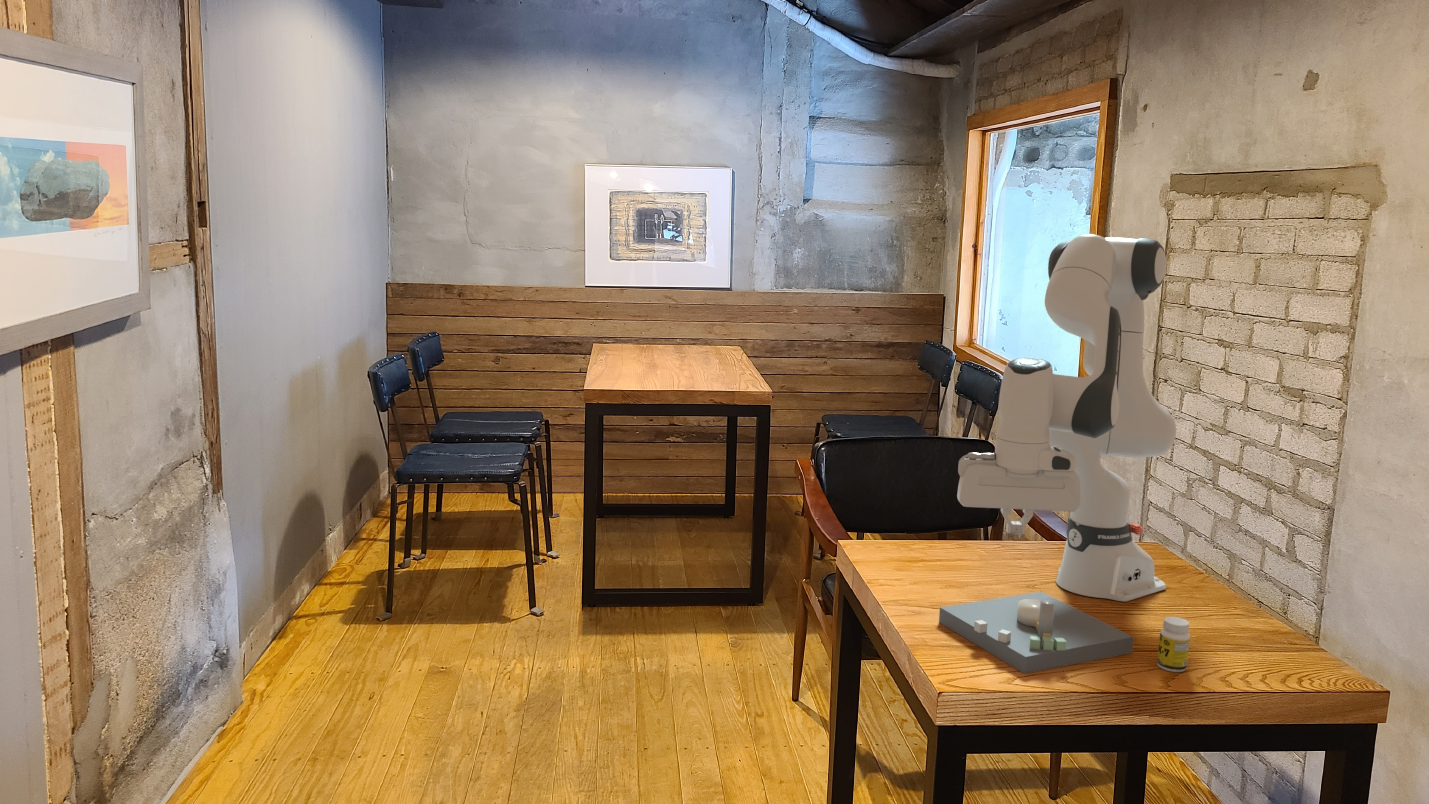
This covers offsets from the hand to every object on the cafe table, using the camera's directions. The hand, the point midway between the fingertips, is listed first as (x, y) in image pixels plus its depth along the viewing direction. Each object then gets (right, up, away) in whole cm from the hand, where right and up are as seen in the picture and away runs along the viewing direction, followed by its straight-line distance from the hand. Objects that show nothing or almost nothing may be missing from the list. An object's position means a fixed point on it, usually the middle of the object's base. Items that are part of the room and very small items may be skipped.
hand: (1015, 532), depth 188 cm
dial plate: (+6, -20, +11) cm, 24 cm away
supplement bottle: (+27, -23, 0) cm, 36 cm away
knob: (+6, -18, +7) cm, 20 cm away
